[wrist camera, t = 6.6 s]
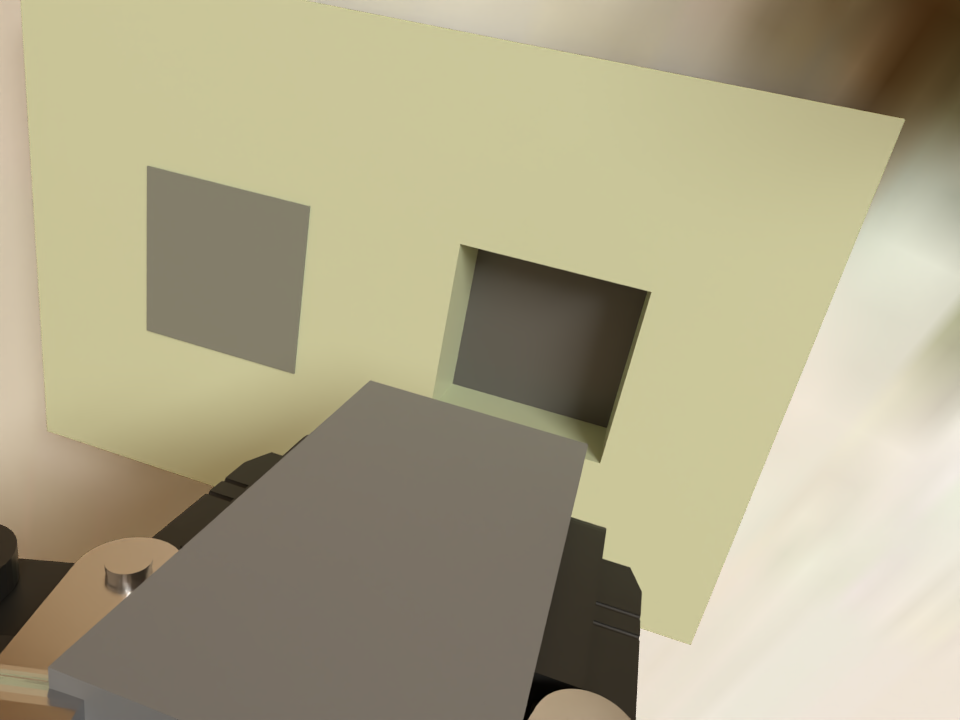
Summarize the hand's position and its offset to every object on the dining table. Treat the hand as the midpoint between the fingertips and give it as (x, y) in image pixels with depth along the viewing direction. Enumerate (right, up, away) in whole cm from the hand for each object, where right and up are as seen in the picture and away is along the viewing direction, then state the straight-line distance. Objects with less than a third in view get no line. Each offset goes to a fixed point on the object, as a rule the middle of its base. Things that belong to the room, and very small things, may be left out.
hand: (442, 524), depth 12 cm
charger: (0, 0, +1) cm, 1 cm away
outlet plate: (-2, +5, +11) cm, 13 cm away
